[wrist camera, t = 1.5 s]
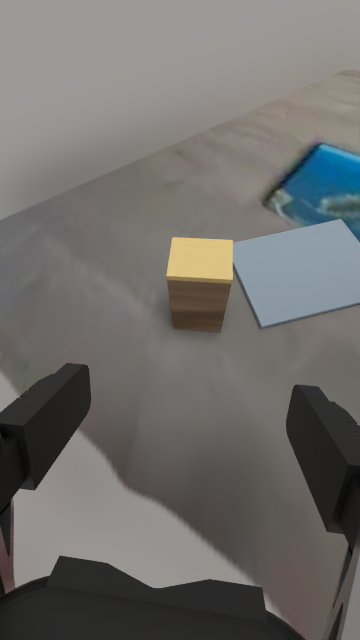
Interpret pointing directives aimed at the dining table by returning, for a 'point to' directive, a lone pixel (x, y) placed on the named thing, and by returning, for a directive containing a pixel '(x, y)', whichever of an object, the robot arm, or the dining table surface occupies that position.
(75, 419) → the robot arm
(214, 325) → the wooden block
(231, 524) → the dining table surface
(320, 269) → the slate mat
